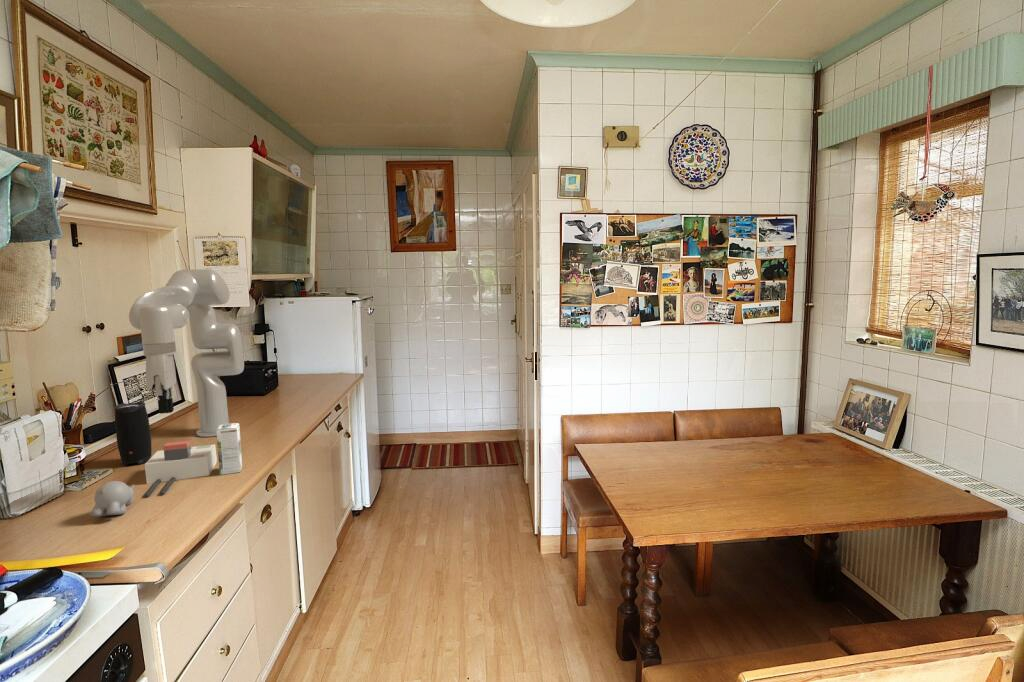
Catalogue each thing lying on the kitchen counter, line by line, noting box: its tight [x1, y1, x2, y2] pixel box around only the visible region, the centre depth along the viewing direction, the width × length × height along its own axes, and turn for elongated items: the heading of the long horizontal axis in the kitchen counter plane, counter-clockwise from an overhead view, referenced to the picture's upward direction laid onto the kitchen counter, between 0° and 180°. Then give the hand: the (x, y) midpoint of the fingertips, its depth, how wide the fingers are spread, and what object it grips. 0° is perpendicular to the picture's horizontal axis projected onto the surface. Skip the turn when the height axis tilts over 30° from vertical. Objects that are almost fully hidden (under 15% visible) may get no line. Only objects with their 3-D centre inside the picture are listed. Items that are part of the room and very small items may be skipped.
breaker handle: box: [162, 440, 191, 460], centre depth 150 cm, size 3×6×4 cm, turn 110°
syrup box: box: [216, 422, 243, 476], centre depth 155 cm, size 6×6×14 cm
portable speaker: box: [114, 401, 152, 467], centre depth 163 cm, size 9×9×20 cm
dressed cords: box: [144, 477, 176, 498], centre depth 143 cm, size 11×5×1 cm, turn 20°
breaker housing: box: [144, 443, 218, 485], centre depth 155 cm, size 12×16×6 cm
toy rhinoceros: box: [90, 480, 135, 517], centre depth 130 cm, size 7×12×8 cm, turn 6°
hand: (166, 412), depth 143 cm, fingers closed
